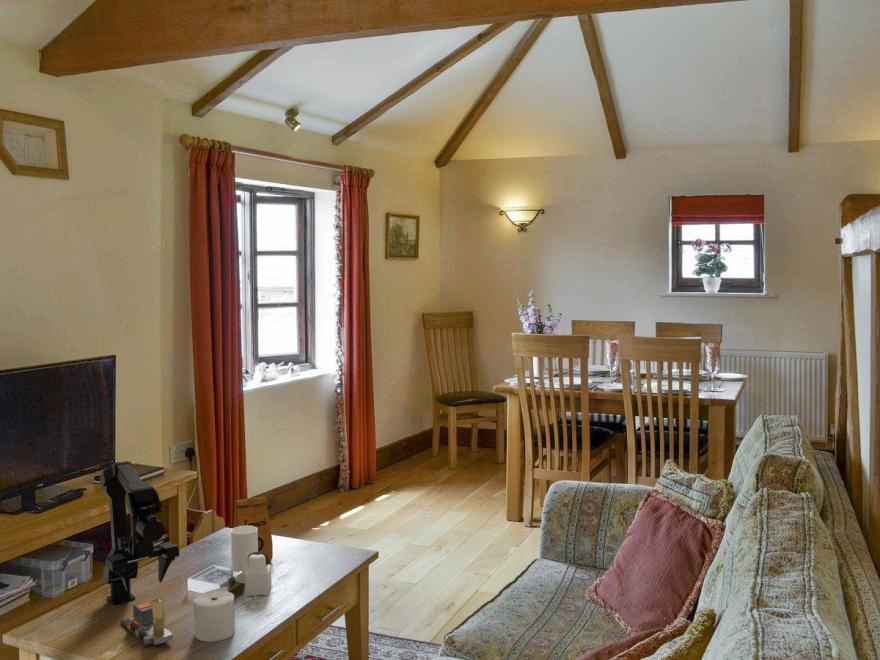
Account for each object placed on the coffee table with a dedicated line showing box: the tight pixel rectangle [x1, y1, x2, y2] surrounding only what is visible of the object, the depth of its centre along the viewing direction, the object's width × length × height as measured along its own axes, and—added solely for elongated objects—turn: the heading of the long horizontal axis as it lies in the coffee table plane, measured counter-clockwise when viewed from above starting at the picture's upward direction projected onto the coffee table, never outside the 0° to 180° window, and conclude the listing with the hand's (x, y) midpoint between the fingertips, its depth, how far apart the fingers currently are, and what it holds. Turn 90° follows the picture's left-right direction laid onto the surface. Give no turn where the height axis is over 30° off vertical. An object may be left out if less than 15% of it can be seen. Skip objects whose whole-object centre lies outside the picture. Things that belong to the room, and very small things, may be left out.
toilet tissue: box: [193, 586, 236, 643], centre depth 231 cm, size 11×12×10 cm
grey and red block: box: [132, 601, 153, 626], centre depth 233 cm, size 6×4×4 cm, turn 41°
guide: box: [120, 618, 154, 646], centre depth 233 cm, size 18×7×1 cm, turn 41°
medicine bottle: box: [244, 551, 272, 597], centre depth 259 cm, size 7×7×12 cm
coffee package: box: [233, 496, 274, 563], centre depth 283 cm, size 10×12×22 cm
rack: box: [127, 597, 174, 646], centre depth 229 cm, size 17×7×10 cm, turn 41°
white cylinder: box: [230, 526, 258, 580], centre depth 269 cm, size 8×8×16 cm
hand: (144, 586), depth 233 cm, fingers open, 9 cm apart
